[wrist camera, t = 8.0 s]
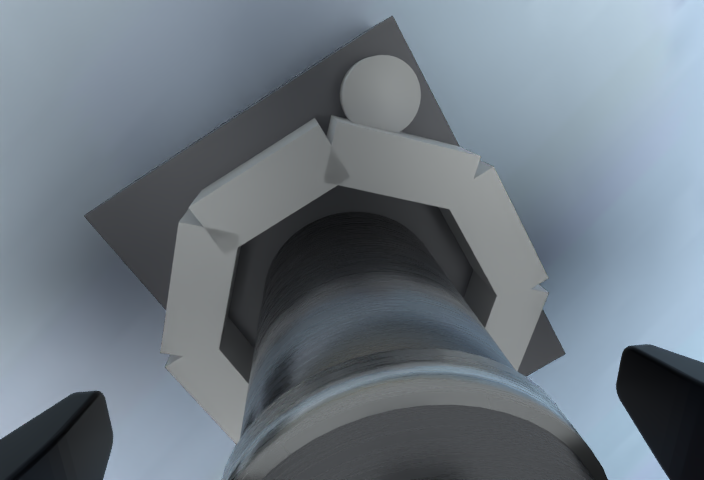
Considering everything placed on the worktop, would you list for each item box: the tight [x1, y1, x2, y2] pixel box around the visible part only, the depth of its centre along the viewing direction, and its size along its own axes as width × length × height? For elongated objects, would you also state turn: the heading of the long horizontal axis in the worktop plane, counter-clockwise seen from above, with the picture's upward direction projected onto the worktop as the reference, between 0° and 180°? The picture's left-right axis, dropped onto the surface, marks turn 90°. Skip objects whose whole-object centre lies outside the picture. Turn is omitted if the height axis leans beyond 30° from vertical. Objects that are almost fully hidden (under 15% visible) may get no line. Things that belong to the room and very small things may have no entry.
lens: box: [221, 212, 608, 480], centre depth 8 cm, size 5×5×8 cm
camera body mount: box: [84, 16, 565, 445], centre depth 12 cm, size 10×8×4 cm
